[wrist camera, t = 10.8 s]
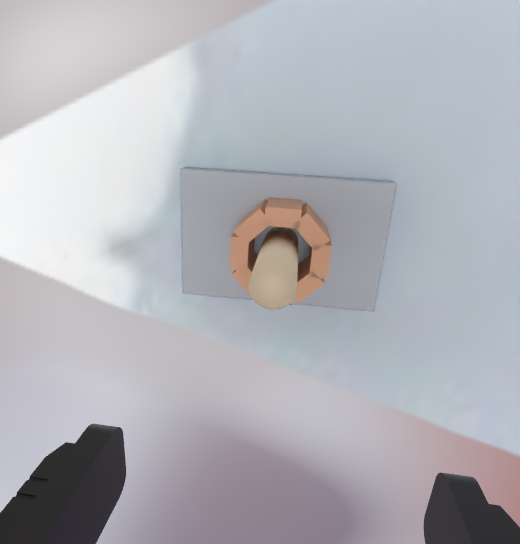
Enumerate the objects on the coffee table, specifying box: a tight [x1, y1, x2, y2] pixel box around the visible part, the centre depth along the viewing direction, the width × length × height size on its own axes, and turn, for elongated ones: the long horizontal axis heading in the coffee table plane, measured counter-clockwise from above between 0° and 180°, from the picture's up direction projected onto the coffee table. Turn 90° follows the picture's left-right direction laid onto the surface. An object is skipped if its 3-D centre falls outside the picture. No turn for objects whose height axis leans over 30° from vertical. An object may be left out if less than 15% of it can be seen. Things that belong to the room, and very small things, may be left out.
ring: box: [229, 197, 332, 305], centre depth 25 cm, size 6×6×4 cm
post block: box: [181, 167, 397, 311], centre depth 23 cm, size 14×9×9 cm, turn 87°
